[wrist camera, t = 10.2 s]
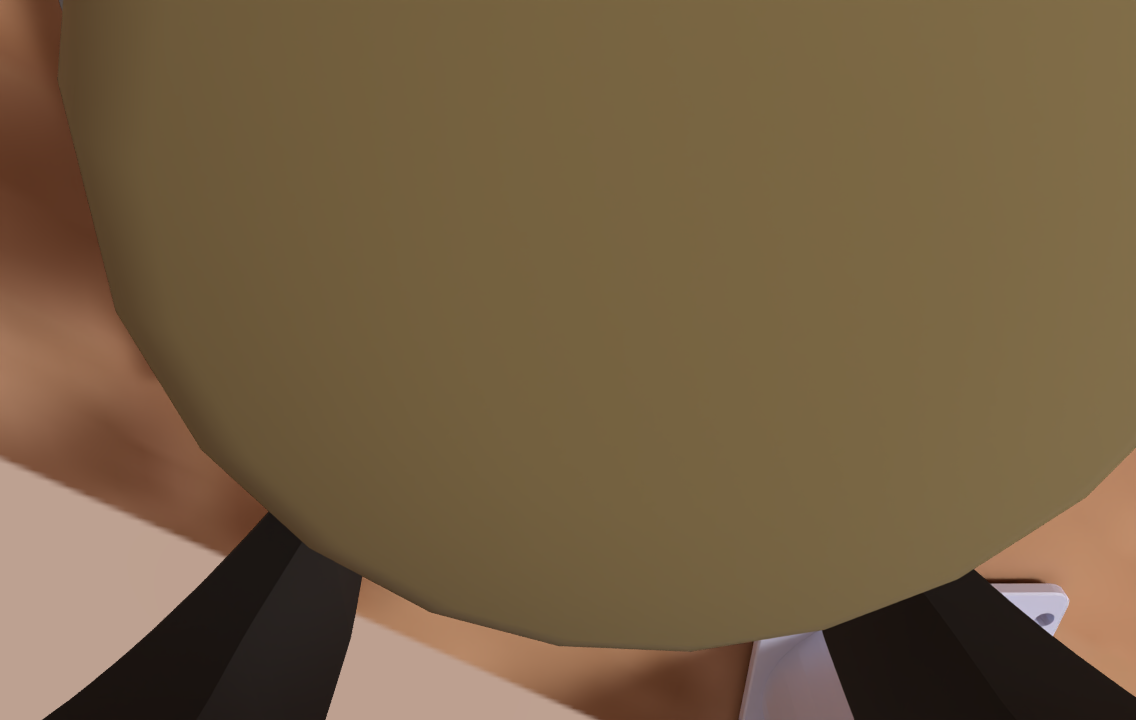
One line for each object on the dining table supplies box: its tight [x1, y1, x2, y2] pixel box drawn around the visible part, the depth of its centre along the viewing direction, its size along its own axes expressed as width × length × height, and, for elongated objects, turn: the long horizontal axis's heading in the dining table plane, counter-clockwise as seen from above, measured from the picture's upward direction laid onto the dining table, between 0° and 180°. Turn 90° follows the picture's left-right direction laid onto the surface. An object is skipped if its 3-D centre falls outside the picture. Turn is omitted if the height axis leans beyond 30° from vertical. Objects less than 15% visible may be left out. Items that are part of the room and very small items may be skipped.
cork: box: [57, 0, 1136, 652], centre depth 7 cm, size 6×6×11 cm
